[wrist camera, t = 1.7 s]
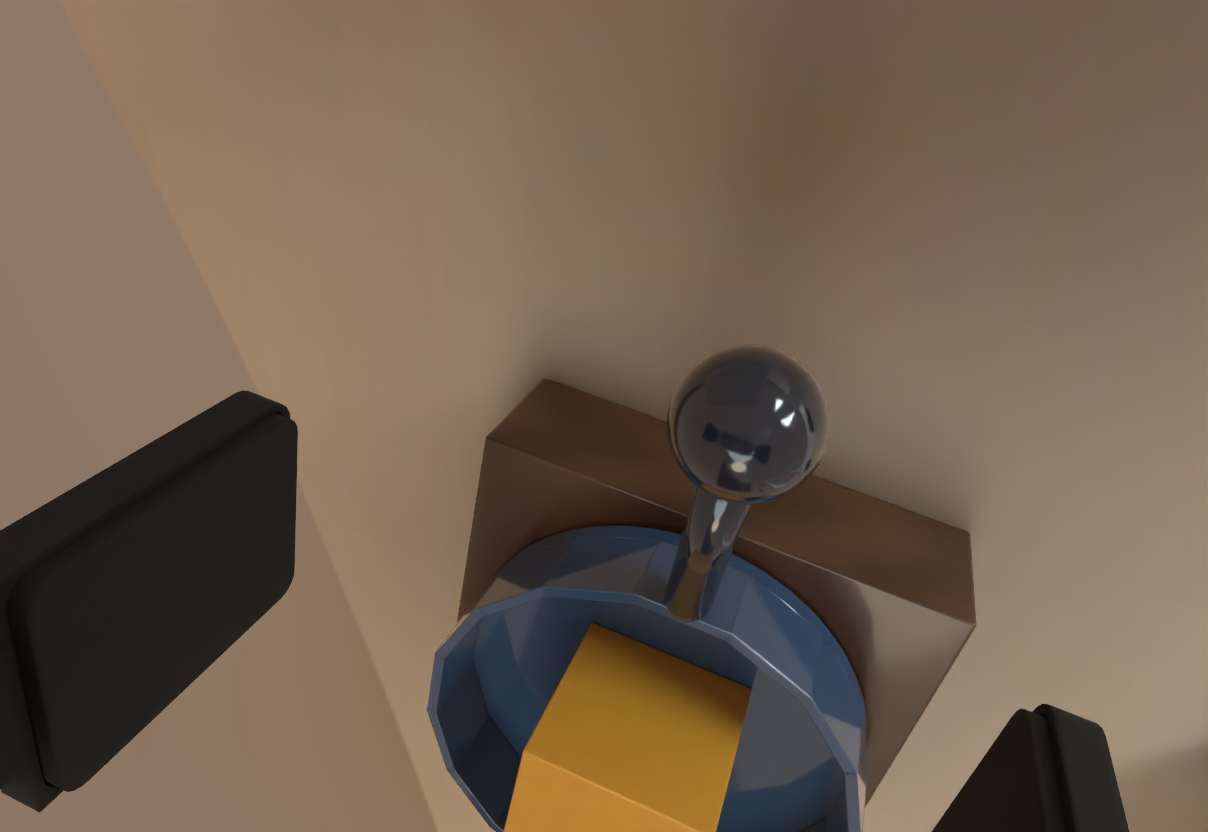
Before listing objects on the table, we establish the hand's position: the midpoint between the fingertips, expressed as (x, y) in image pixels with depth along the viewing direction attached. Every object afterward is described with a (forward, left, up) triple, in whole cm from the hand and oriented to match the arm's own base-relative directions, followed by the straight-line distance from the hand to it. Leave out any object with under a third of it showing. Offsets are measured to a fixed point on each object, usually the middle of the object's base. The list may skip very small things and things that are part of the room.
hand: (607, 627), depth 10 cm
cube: (-1, +11, -9) cm, 14 cm away
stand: (-1, +11, -14) cm, 17 cm away
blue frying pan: (-1, +8, -10) cm, 12 cm away
